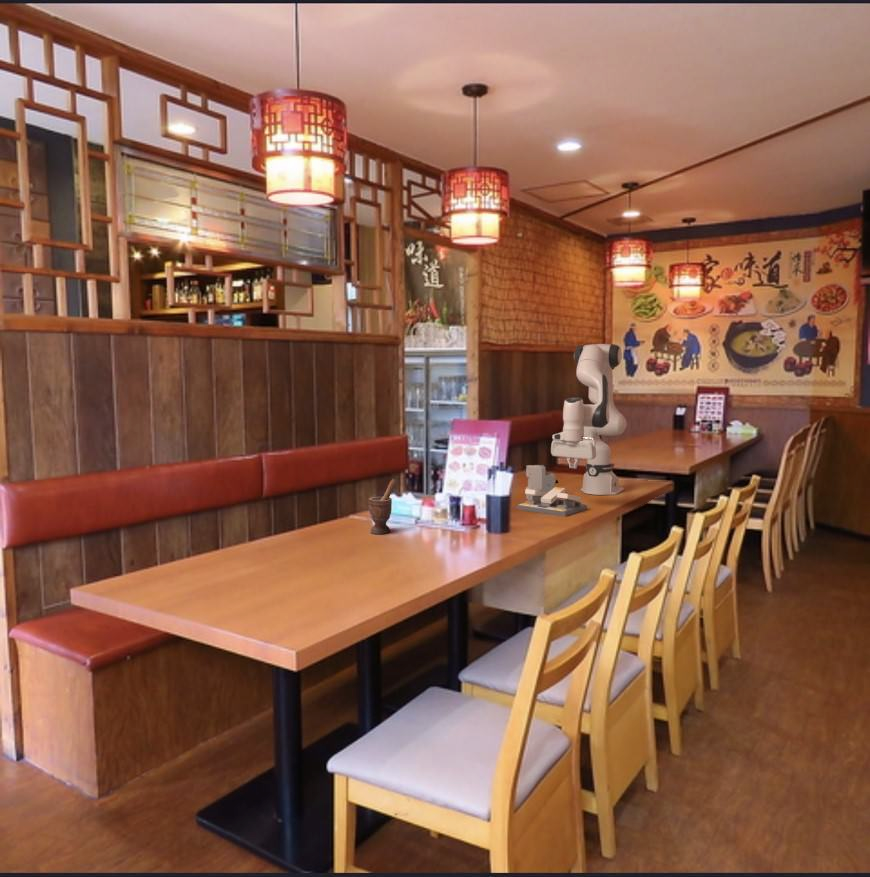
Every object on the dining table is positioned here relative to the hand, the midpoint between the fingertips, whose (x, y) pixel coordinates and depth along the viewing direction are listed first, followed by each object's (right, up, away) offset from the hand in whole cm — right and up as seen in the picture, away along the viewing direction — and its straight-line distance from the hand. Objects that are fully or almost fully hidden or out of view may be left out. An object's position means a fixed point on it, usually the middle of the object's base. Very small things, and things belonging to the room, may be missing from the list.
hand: (573, 468), depth 313 cm
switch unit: (-9, -18, +4) cm, 20 cm away
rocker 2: (-8, -12, +4) cm, 15 cm away
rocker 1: (-14, -12, +9) cm, 21 cm away
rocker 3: (-2, -13, -1) cm, 13 cm away
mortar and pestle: (-79, -23, -33) cm, 88 cm away
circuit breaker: (-9, -15, +29) cm, 34 cm away
